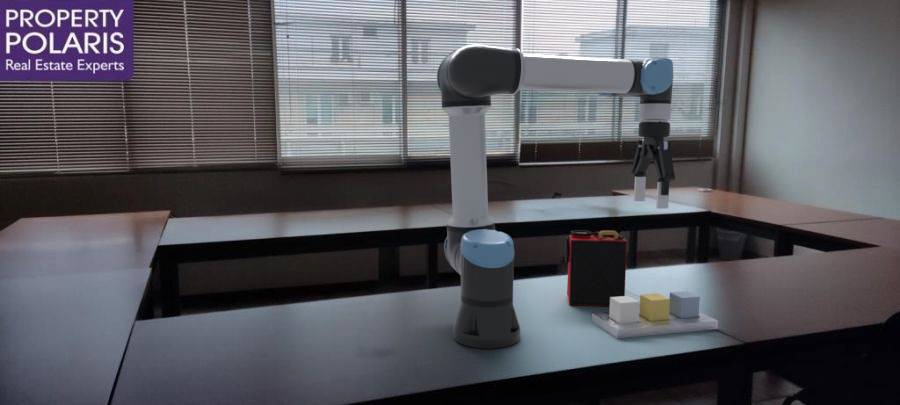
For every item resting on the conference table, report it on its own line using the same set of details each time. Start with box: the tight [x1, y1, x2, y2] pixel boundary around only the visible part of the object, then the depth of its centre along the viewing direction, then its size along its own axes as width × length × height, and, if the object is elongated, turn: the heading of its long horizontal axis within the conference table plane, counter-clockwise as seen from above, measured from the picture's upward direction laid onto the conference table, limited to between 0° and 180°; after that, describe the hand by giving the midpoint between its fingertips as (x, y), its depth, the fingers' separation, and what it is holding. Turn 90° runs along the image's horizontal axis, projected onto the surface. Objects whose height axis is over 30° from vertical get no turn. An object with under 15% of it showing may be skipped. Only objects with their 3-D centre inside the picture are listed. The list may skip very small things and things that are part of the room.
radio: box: [564, 229, 628, 307], centre depth 160 cm, size 16×10×20 cm, turn 84°
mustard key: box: [639, 293, 670, 322], centre depth 142 cm, size 5×5×5 cm
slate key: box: [669, 290, 701, 319], centre depth 144 cm, size 5×5×5 cm
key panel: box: [591, 308, 719, 339], centre depth 142 cm, size 26×12×2 cm, turn 104°
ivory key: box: [608, 295, 640, 324], centre depth 140 cm, size 5×5×5 cm
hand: (650, 204), depth 154 cm, fingers open, 13 cm apart
